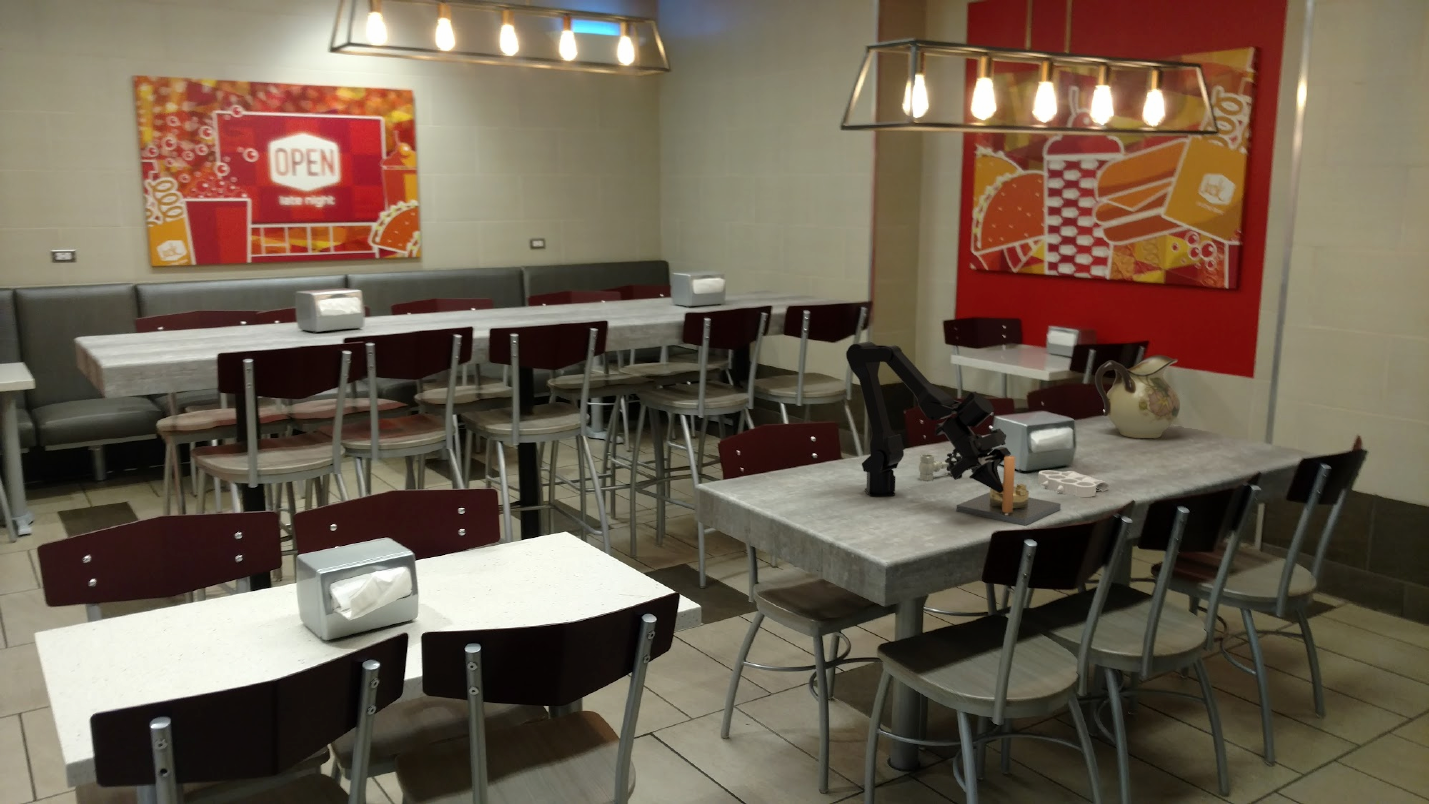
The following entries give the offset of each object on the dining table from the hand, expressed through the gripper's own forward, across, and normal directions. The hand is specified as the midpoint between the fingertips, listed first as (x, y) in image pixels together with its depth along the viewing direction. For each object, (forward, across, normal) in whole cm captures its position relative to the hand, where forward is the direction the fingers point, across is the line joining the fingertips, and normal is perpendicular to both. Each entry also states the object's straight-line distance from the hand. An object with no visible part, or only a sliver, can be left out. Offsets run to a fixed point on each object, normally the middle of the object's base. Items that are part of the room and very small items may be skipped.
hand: (1001, 491), depth 255 cm
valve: (-19, +24, +28) cm, 41 cm away
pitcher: (-8, +114, +15) cm, 115 cm away
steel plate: (+3, +8, +6) cm, 11 cm away
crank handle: (+2, +6, +4) cm, 8 cm away
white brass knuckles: (+4, +38, +6) cm, 39 cm away
